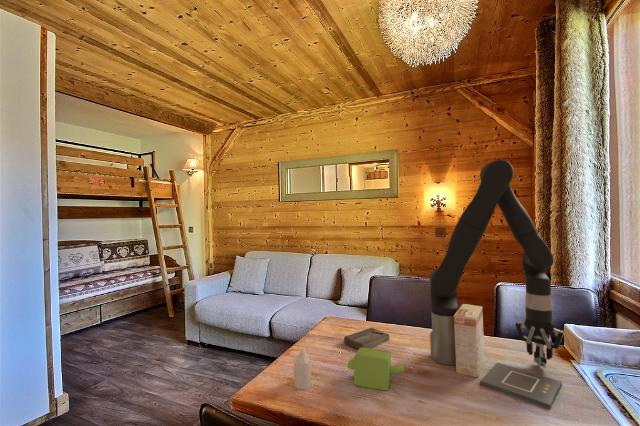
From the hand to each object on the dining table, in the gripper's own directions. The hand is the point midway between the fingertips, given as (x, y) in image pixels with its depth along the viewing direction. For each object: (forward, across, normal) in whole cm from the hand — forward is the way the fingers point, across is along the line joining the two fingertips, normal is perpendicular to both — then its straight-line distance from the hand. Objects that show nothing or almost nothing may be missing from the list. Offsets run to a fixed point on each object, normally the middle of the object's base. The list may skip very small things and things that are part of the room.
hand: (539, 356), depth 107 cm
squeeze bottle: (+5, -52, -62) cm, 81 cm away
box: (+5, -57, -22) cm, 61 cm away
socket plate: (+4, -2, -16) cm, 17 cm away
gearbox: (+5, -36, -44) cm, 57 cm away
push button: (+3, 0, 0) cm, 3 cm away
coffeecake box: (+4, -17, -14) cm, 23 cm away
